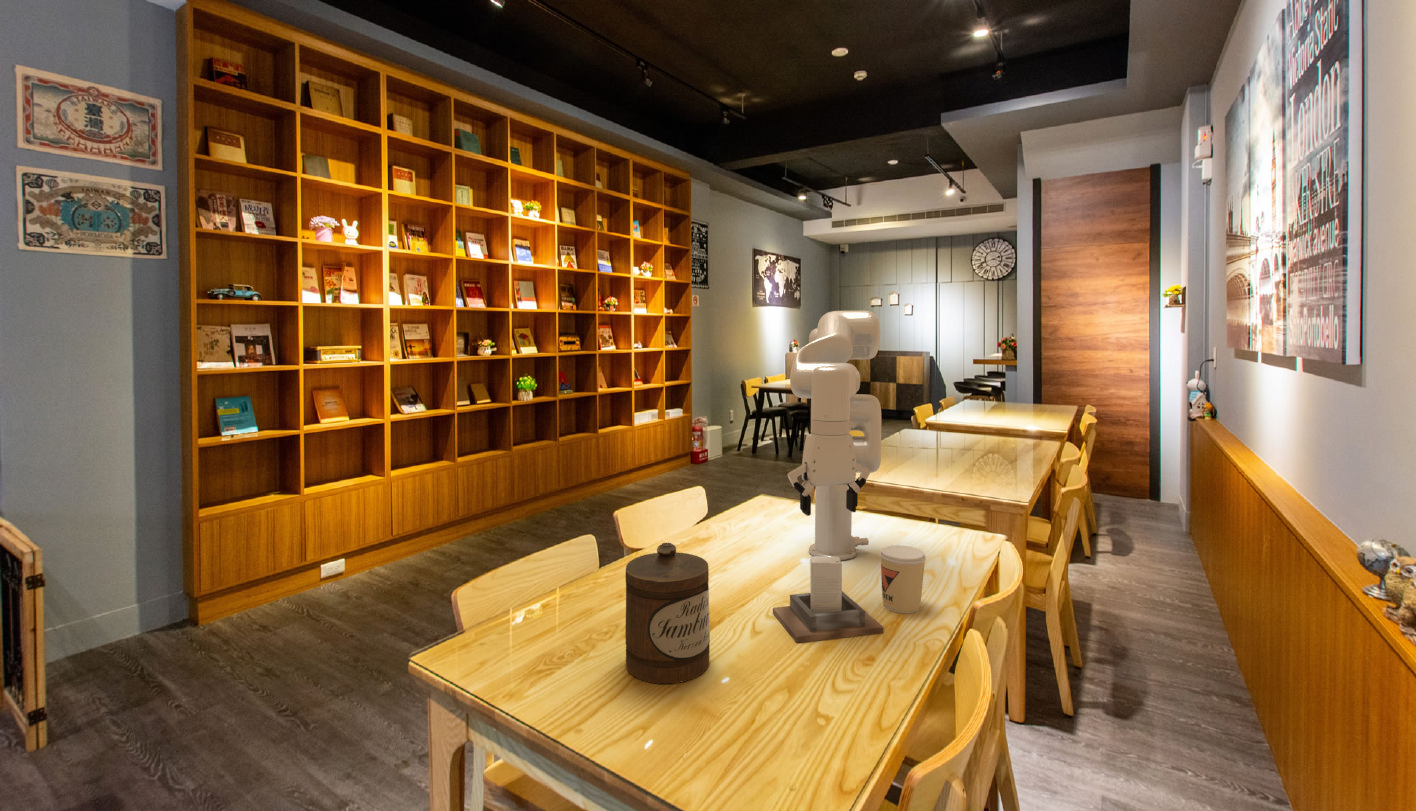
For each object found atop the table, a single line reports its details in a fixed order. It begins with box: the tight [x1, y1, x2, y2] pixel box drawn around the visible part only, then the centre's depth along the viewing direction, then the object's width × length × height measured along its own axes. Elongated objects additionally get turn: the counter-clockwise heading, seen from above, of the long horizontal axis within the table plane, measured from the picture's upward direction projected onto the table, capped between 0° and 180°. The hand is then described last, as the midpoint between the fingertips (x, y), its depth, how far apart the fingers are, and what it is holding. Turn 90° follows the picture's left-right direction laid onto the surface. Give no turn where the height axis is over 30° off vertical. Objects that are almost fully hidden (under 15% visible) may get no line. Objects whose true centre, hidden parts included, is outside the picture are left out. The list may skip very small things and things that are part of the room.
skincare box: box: [809, 555, 843, 614], centre depth 136 cm, size 6×4×12 cm
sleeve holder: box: [772, 590, 885, 644], centre depth 136 cm, size 18×14×4 cm
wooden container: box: [625, 542, 711, 684], centre depth 119 cm, size 15×15×22 cm
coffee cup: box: [879, 545, 927, 614], centre depth 144 cm, size 9×9×12 cm
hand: (828, 512), depth 136 cm, fingers open, 9 cm apart
